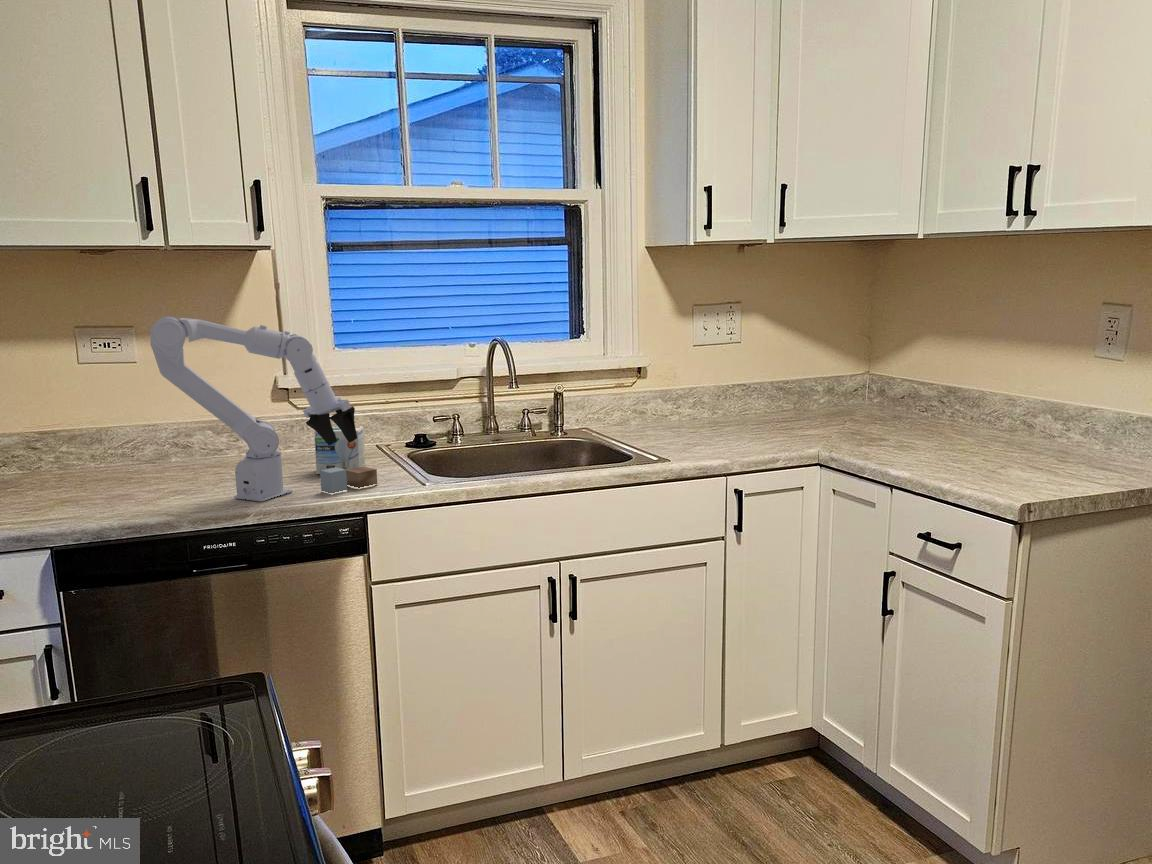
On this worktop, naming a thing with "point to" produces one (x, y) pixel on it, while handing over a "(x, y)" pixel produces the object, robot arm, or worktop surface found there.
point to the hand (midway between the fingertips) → (343, 441)
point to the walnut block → (361, 476)
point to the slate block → (333, 480)
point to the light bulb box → (340, 451)
